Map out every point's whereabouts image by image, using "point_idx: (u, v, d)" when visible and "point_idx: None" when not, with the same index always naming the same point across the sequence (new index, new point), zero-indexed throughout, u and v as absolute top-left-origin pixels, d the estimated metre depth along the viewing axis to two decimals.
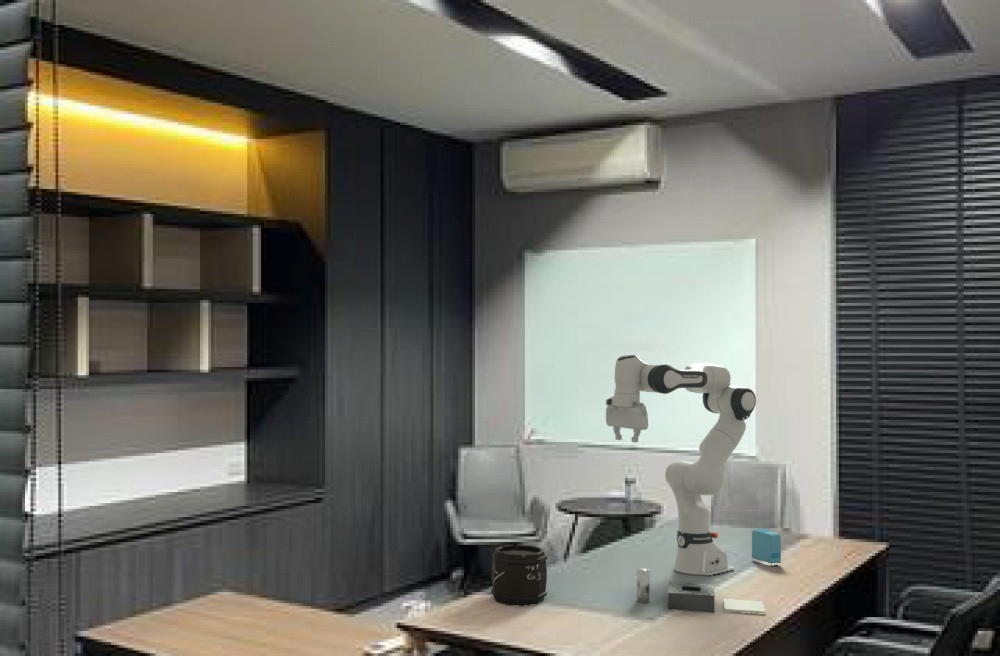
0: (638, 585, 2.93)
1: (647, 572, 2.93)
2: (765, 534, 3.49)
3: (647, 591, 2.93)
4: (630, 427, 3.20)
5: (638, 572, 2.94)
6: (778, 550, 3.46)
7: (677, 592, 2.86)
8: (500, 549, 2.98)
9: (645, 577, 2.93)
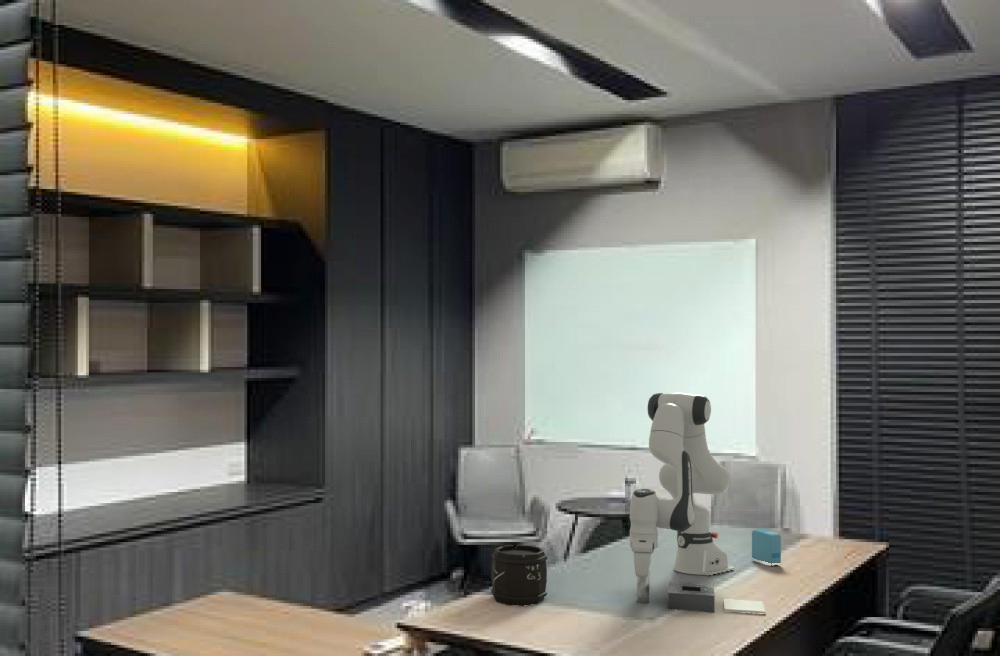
0: (638, 585, 2.93)
1: None
2: (765, 534, 3.49)
3: (647, 591, 2.93)
4: None
5: None
6: (778, 550, 3.46)
7: (677, 592, 2.86)
8: (500, 549, 2.98)
9: None
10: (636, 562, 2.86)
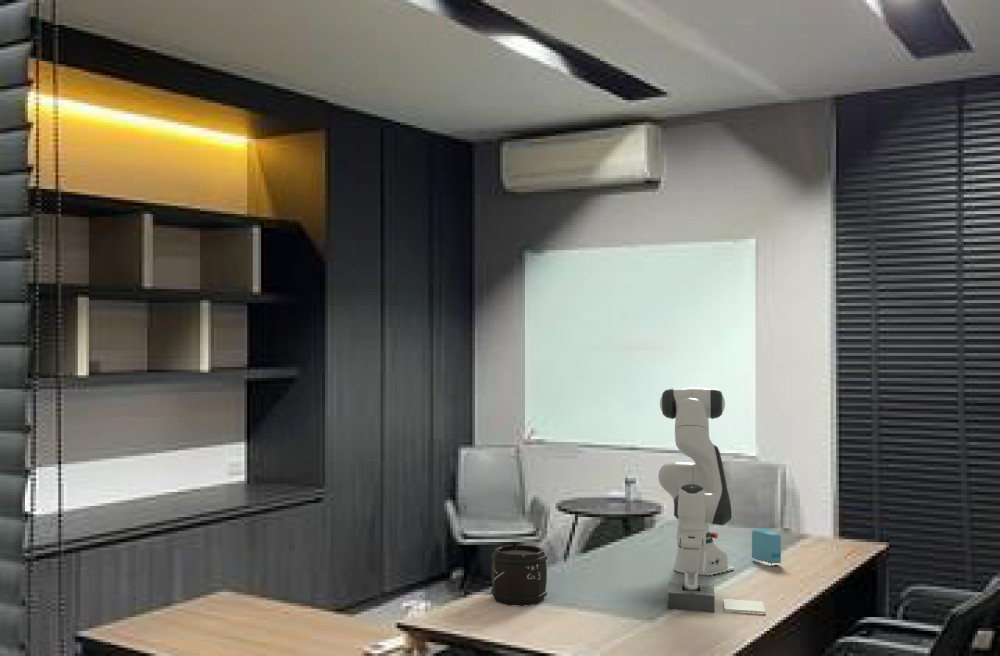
0: (686, 588, 2.90)
1: (695, 575, 2.90)
2: (765, 534, 3.49)
3: None
4: None
5: (686, 575, 2.91)
6: (778, 550, 3.46)
7: (677, 592, 2.86)
8: (500, 549, 2.98)
9: (694, 580, 2.90)
10: (686, 558, 2.83)
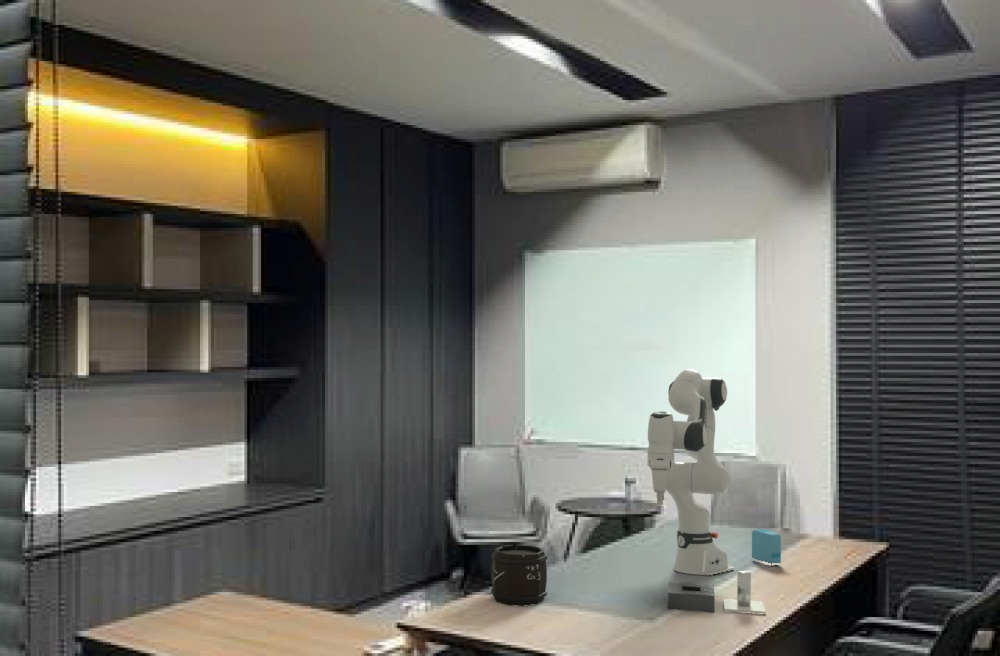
0: (739, 588, 2.87)
1: (748, 575, 2.86)
2: (765, 534, 3.49)
3: (748, 594, 2.86)
4: None
5: (739, 575, 2.87)
6: (778, 550, 3.46)
7: (677, 592, 2.86)
8: (500, 549, 2.98)
9: (747, 580, 2.86)
10: (654, 478, 3.00)
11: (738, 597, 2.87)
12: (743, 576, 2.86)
